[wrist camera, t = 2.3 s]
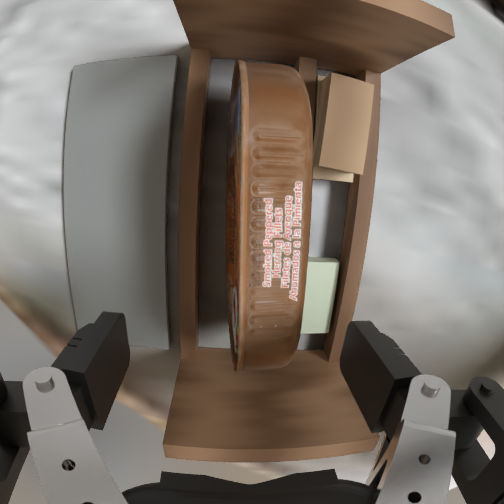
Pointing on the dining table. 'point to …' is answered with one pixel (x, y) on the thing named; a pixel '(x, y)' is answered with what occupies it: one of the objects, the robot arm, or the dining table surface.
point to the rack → (353, 244)
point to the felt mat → (120, 192)
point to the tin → (267, 213)
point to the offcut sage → (319, 294)
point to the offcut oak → (343, 124)
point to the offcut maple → (317, 171)
